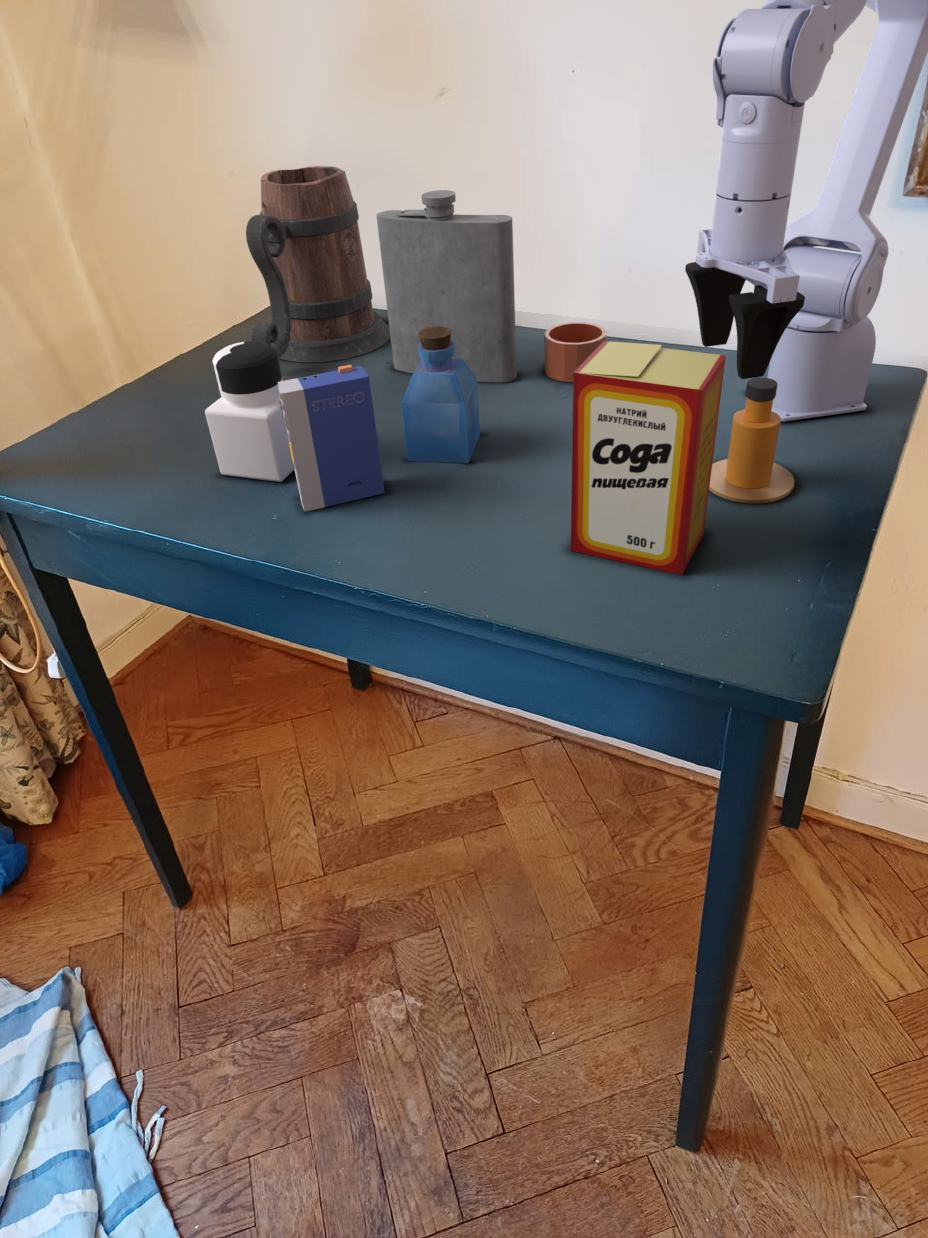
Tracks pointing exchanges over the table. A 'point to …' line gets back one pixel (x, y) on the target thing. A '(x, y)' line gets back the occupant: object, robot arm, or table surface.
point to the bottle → (754, 437)
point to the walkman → (332, 436)
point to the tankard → (313, 268)
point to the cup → (570, 347)
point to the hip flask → (450, 284)
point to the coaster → (771, 492)
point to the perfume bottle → (440, 403)
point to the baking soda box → (643, 452)
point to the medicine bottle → (249, 414)
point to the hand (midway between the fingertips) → (731, 359)
